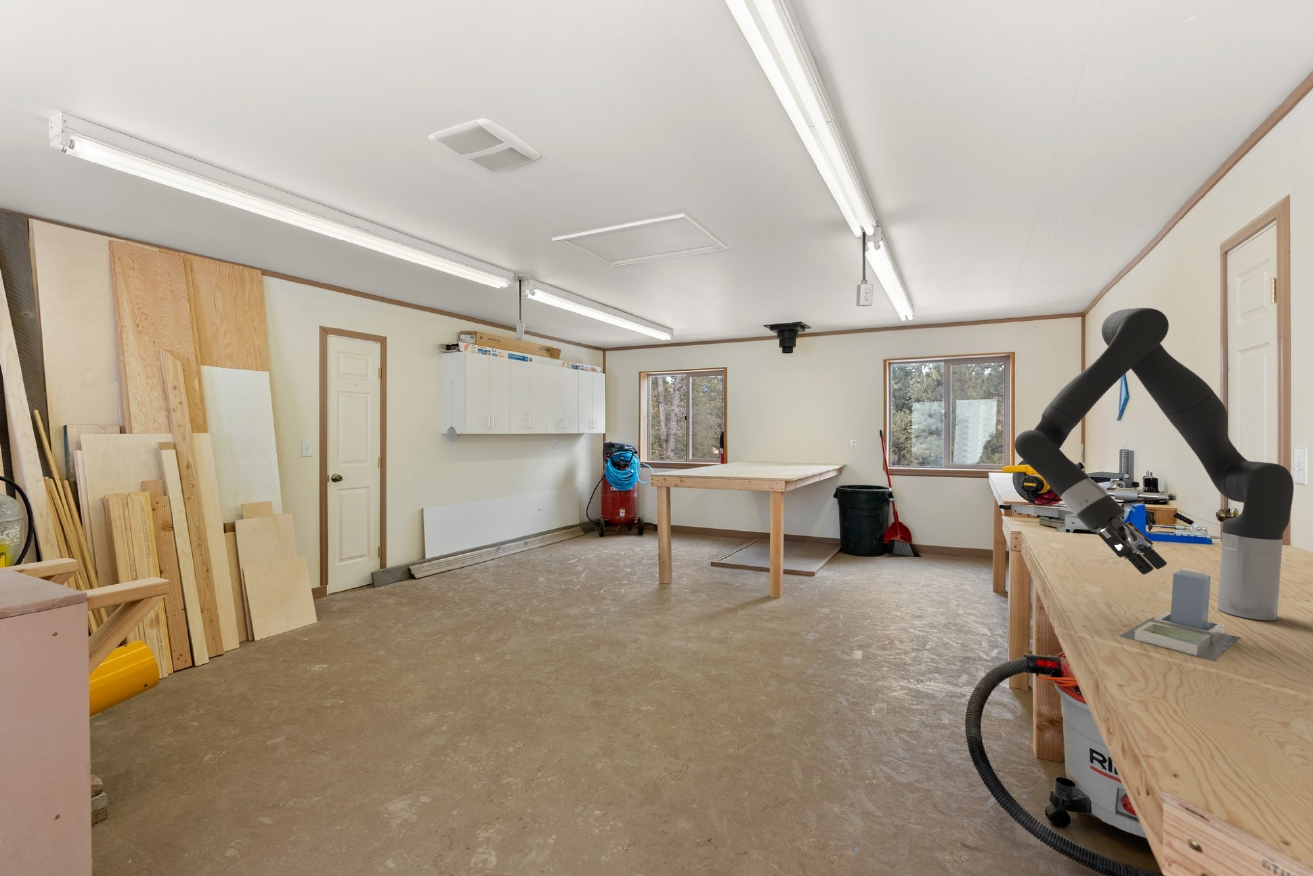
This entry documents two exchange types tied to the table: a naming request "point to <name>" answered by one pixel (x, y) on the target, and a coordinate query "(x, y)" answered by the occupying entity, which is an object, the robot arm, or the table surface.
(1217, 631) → the panel
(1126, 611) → the table surface
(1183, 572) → the plug
